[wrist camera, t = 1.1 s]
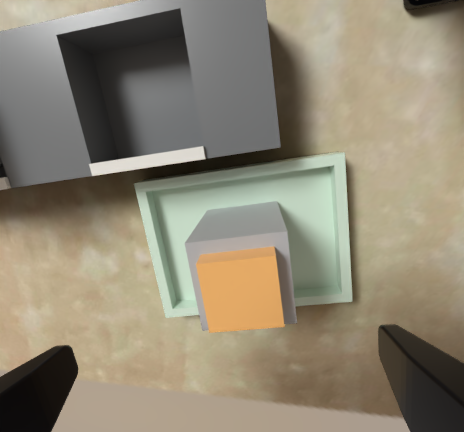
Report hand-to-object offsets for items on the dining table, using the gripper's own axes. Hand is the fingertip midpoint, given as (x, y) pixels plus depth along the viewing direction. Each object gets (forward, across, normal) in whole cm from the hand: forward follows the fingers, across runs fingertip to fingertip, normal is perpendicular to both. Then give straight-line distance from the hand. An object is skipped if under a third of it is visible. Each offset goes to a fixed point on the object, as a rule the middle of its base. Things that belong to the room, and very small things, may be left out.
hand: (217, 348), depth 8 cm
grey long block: (+11, +8, -8) cm, 16 cm away
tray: (+11, 0, 0) cm, 11 cm away
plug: (+10, 0, 0) cm, 11 cm away
